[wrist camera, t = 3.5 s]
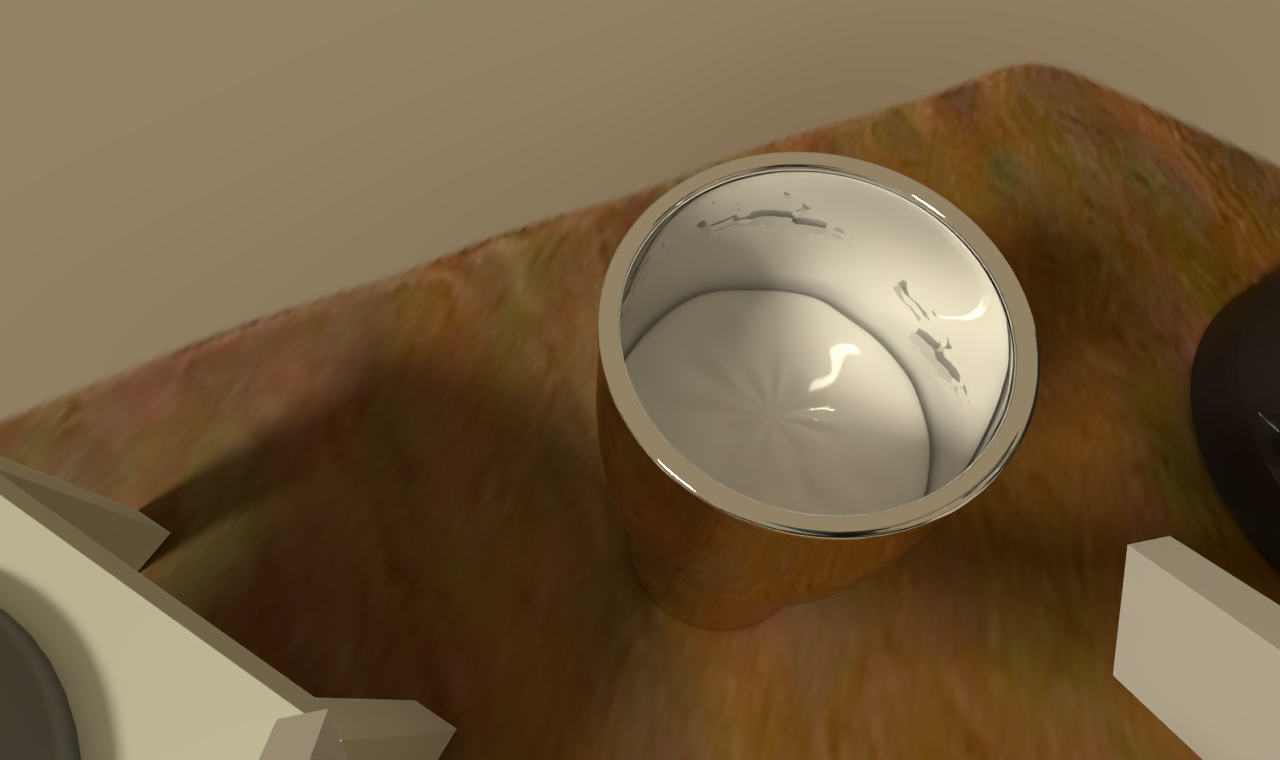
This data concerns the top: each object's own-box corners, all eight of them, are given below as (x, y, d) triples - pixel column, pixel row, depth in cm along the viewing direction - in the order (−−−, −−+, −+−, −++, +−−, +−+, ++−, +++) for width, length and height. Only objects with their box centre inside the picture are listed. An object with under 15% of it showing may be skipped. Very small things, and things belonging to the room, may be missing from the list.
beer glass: (722, 403, 26) (809, 77, 13) (863, 548, 24) (1155, 341, 10) (573, 525, 24) (488, 297, 11) (712, 694, 22) (826, 676, 9)
